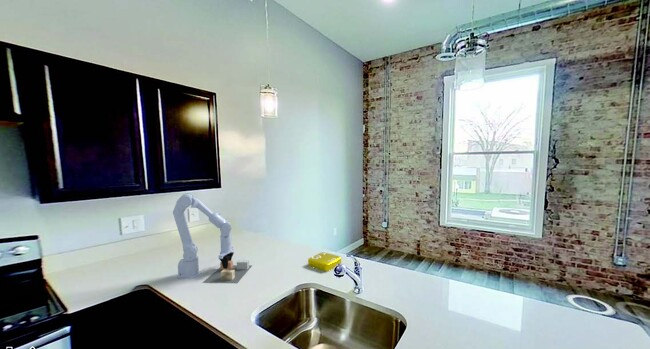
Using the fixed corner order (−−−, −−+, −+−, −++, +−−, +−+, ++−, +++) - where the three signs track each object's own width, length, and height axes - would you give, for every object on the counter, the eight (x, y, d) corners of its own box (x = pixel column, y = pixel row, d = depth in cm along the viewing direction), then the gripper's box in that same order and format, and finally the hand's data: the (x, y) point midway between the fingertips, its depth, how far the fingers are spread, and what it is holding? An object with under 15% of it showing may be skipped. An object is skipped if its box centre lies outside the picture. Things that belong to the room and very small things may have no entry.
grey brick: (236, 269, 145) (236, 262, 144) (239, 267, 148) (238, 260, 147) (247, 269, 144) (247, 262, 144) (249, 267, 147) (249, 260, 147)
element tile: (327, 272, 140) (327, 264, 140) (306, 266, 150) (306, 258, 149) (342, 263, 152) (342, 256, 152) (322, 258, 161) (322, 250, 161)
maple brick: (220, 279, 132) (220, 272, 132) (223, 277, 135) (223, 269, 135) (232, 279, 131) (232, 272, 131) (234, 277, 134) (234, 269, 134)
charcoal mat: (202, 283, 129) (202, 282, 129) (222, 265, 151) (222, 265, 151) (237, 284, 128) (237, 283, 128) (252, 266, 150) (252, 265, 150)
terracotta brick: (220, 269, 144) (220, 262, 144) (222, 267, 147) (222, 260, 147) (230, 269, 144) (230, 262, 144) (233, 267, 147) (232, 260, 146)
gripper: (227, 247, 137) (228, 272, 138) (238, 239, 152) (238, 261, 152) (214, 247, 138) (215, 272, 138) (226, 239, 152) (227, 261, 153)
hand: (226, 266), depth 145 cm, fingers closed on terracotta brick, 3 cm apart
